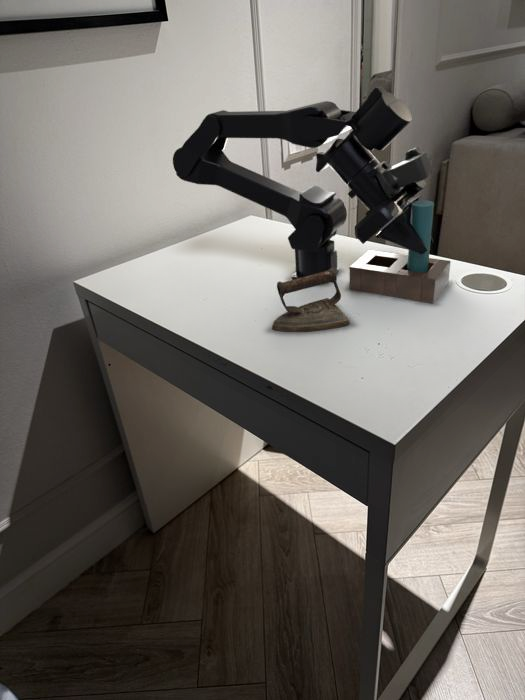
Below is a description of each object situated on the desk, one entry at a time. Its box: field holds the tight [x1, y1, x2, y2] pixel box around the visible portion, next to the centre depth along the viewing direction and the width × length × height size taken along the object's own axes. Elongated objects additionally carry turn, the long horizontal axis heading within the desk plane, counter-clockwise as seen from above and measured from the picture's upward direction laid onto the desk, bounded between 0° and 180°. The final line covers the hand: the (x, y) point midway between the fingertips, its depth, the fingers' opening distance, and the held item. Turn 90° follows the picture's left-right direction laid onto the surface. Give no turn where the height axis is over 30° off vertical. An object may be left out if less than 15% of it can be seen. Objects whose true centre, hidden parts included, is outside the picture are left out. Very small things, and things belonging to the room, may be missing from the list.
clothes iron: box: [271, 268, 351, 333], centre depth 76 cm, size 7×11×10 cm, turn 107°
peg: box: [407, 199, 435, 273], centre depth 81 cm, size 3×3×14 cm
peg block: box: [349, 249, 452, 304], centre depth 85 cm, size 14×8×4 cm, turn 57°
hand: (428, 248), depth 80 cm, fingers closed on peg, 3 cm apart
